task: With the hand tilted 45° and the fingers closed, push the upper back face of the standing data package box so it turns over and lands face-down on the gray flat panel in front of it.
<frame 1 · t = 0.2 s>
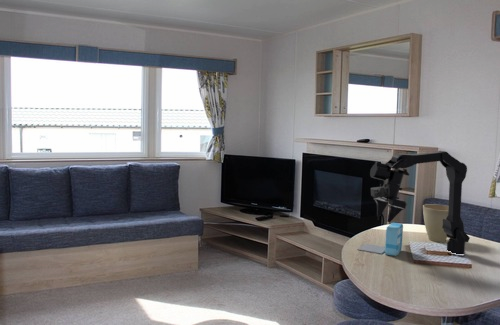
hand: (383, 219, 196), 15 cm above the table, tool pointing down, fingers open, 9 cm apart
data package: (393, 253, 202), on the table
plant pot: (437, 240, 224), on the table
gray flat panel: (373, 249, 206), on the table
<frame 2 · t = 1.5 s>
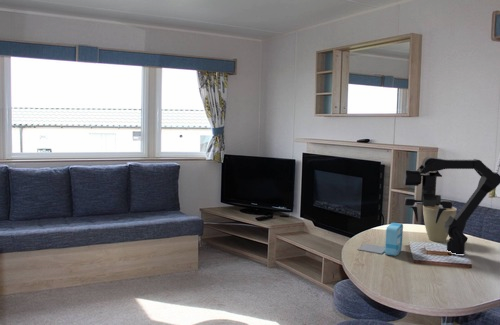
hand: (426, 222, 203), 13 cm above the table, tool pointing down, fingers open, 7 cm apart
nothing on the table moved.
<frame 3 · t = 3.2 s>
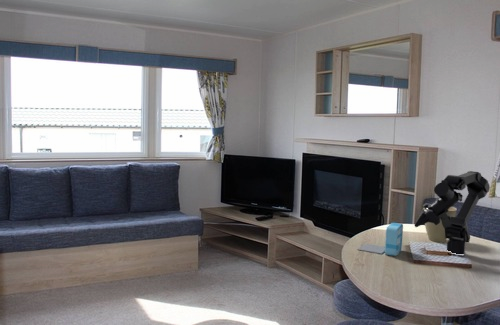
hand: (415, 226, 198), 12 cm above the table, tool tilted 45°, fingers closed
nothing on the table moved.
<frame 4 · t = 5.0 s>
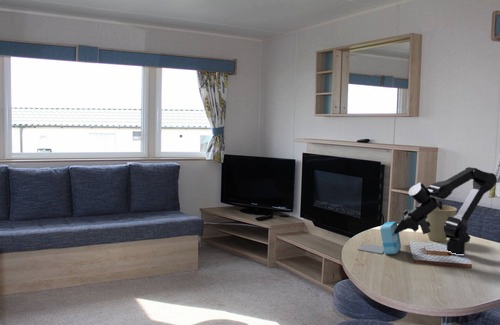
hand: (395, 232, 199), 9 cm above the table, tool tilted 45°, fingers closed
data package: (393, 251, 202), on the table, touching gripper
everything else where it was.
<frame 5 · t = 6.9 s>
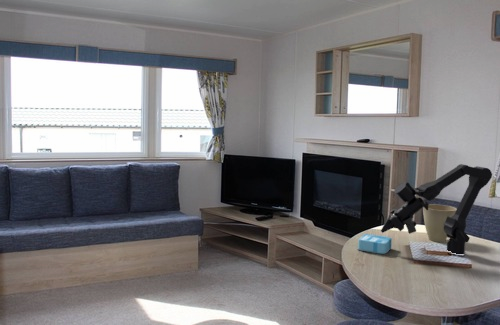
hand: (381, 231, 202), 9 cm above the table, tool tilted 45°, fingers closed
data package: (389, 245, 202), point 3 cm above the table, touching gray flat panel
everything else where it was.
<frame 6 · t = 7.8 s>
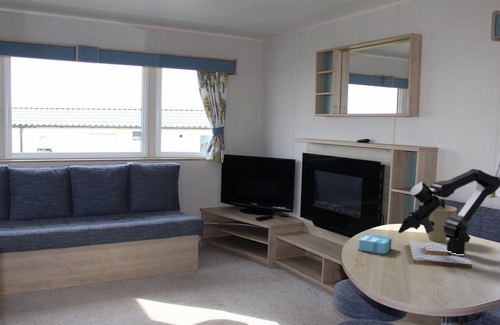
hand: (399, 232, 201), 9 cm above the table, tool tilted 40°, fingers closed
nothing on the table moved.
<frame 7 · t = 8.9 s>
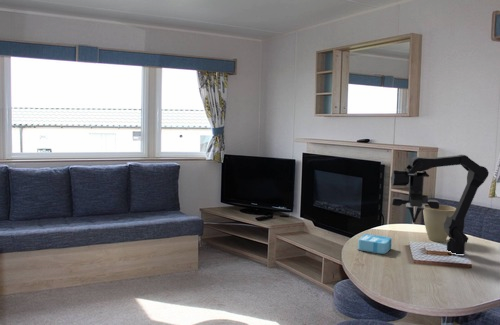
hand: (413, 222, 202), 13 cm above the table, tool pointing down, fingers closed
nothing on the table moved.
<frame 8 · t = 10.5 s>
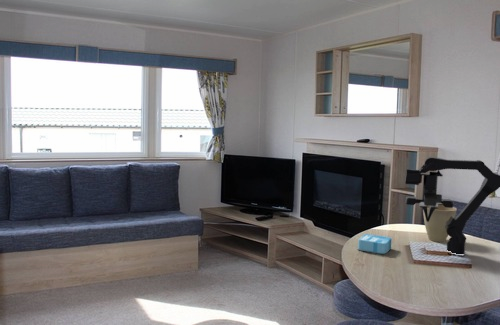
hand: (427, 221, 204), 13 cm above the table, tool pointing down, fingers closed
nothing on the table moved.
at the end: data package tilted 90°; data package inside the target area (4.8 cm from its centre), point 2.7 cm above the table; the gripper is holding nothing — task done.
